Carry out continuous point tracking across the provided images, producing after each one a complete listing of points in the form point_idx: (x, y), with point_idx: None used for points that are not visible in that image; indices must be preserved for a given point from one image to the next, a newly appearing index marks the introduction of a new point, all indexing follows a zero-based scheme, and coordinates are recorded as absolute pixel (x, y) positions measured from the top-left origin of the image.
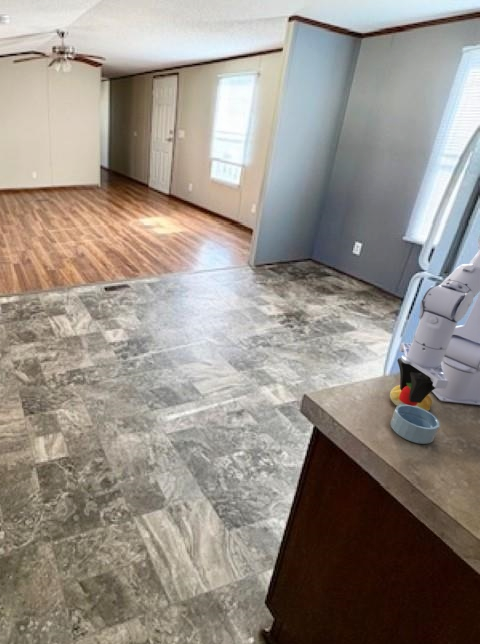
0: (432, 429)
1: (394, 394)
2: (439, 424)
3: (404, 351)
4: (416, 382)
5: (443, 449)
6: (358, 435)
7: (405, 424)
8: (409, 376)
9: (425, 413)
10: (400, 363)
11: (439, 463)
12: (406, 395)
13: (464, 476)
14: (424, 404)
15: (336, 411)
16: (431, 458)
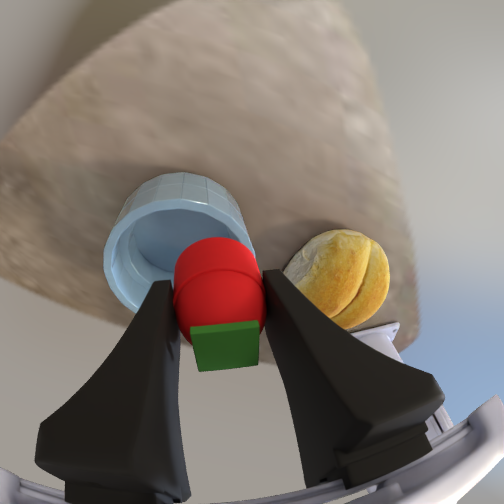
0: (115, 293)
1: (351, 245)
2: None
3: (458, 484)
4: (48, 419)
5: None
6: (112, 44)
7: (124, 213)
8: (295, 367)
9: None
10: (379, 409)
11: (66, 257)
12: (188, 280)
13: (50, 291)
14: None
15: (254, 2)
16: (76, 245)
